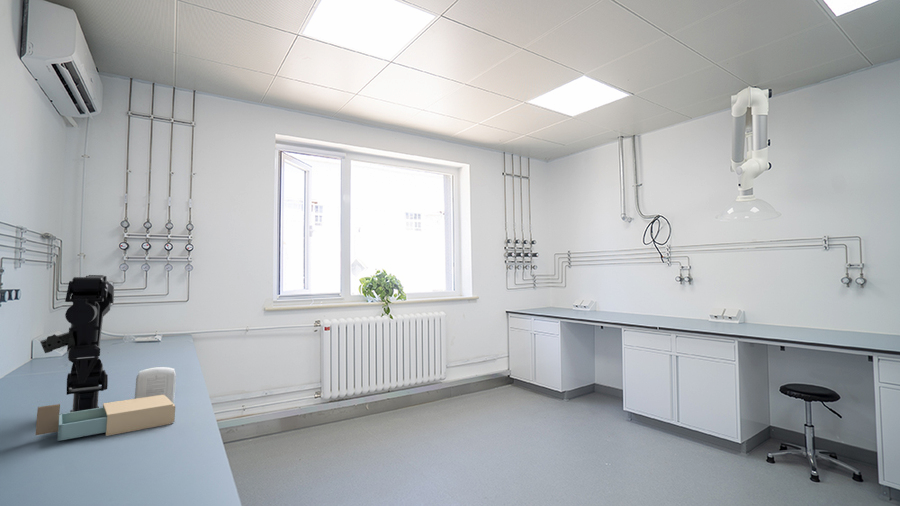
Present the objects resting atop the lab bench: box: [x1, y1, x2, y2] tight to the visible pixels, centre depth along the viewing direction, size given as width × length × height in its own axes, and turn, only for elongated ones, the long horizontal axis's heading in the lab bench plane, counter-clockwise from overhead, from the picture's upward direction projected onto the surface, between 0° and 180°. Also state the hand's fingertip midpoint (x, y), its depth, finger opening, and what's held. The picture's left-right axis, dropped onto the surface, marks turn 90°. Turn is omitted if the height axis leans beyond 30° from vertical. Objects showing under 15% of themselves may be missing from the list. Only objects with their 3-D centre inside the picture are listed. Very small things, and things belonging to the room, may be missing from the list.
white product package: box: [134, 366, 177, 405], centre depth 130 cm, size 10×4×12 cm, turn 123°
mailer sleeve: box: [102, 395, 176, 437], centre depth 115 cm, size 14×15×5 cm
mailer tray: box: [35, 403, 107, 442], centre depth 108 cm, size 12×18×7 cm, turn 133°
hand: (80, 380), depth 114 cm, fingers open, 9 cm apart
